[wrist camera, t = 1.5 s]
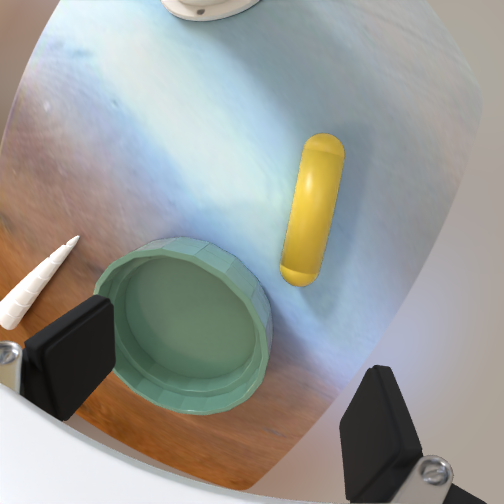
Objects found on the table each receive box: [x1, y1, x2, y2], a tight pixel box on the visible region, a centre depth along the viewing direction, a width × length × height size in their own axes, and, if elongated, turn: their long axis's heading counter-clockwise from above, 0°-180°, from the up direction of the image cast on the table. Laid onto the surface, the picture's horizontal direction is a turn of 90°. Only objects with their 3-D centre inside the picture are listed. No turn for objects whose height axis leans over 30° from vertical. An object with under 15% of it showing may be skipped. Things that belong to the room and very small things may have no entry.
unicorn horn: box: [0, 236, 79, 330], centre depth 31 cm, size 5×24×5 cm, turn 120°
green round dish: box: [93, 237, 273, 415], centre depth 28 cm, size 18×18×6 cm
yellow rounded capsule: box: [280, 133, 345, 287], centre depth 25 cm, size 14×4×4 cm, turn 170°
